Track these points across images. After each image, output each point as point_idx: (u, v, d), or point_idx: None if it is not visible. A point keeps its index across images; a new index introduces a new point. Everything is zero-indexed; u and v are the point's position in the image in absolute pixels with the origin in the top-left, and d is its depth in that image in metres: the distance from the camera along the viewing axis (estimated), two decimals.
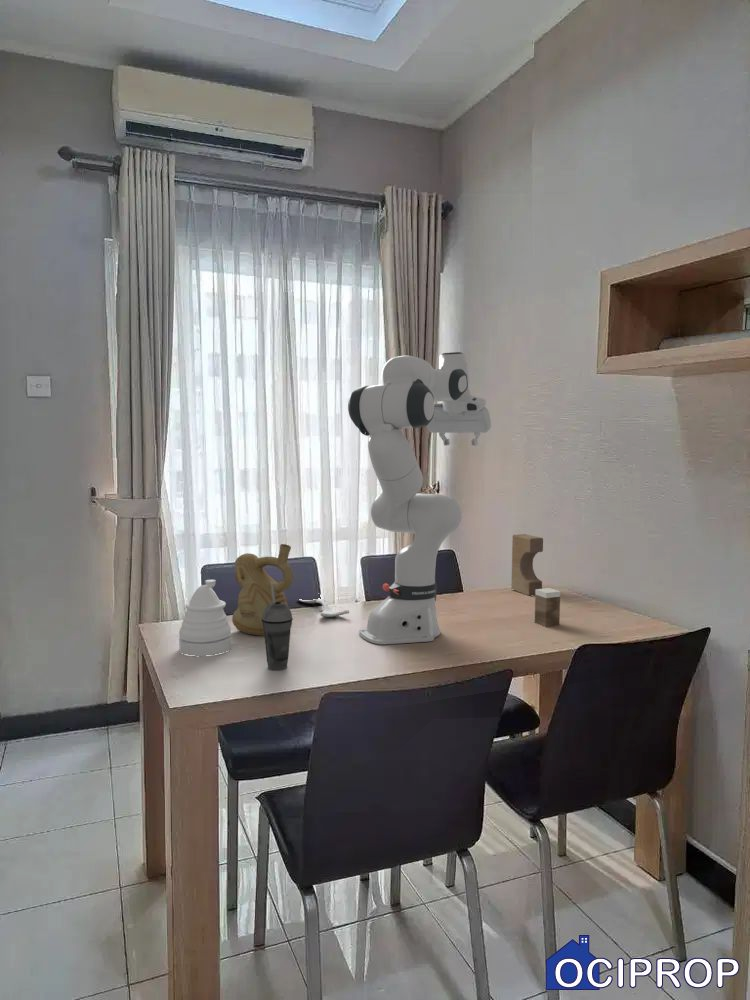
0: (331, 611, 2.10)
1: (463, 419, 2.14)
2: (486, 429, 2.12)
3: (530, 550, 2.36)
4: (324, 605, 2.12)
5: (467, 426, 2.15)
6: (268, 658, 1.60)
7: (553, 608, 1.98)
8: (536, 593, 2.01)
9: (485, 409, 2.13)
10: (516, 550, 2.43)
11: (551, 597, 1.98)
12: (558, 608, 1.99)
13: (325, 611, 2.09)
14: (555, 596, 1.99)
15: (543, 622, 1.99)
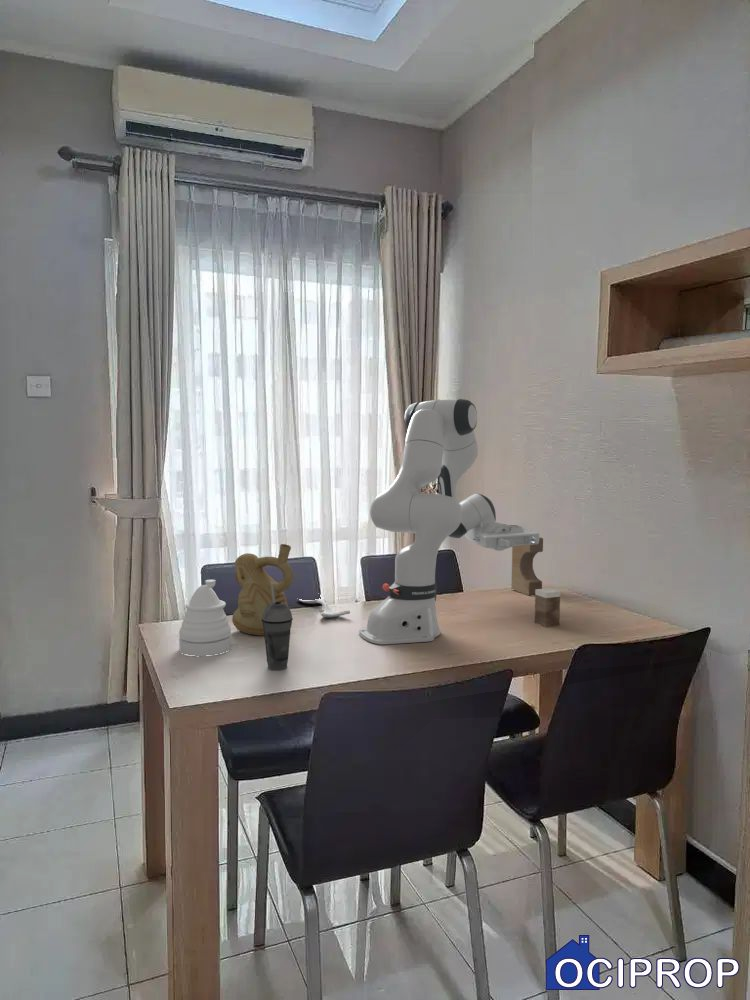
0: (332, 611, 2.09)
1: (512, 533, 2.19)
2: (537, 532, 2.19)
3: (530, 550, 2.36)
4: (325, 605, 2.12)
5: (519, 533, 2.17)
6: (268, 658, 1.60)
7: (553, 608, 1.98)
8: (536, 593, 2.01)
9: None
10: (516, 550, 2.43)
11: (551, 597, 1.98)
12: (558, 608, 1.99)
13: (326, 611, 2.09)
14: (555, 596, 1.99)
15: (543, 622, 1.99)
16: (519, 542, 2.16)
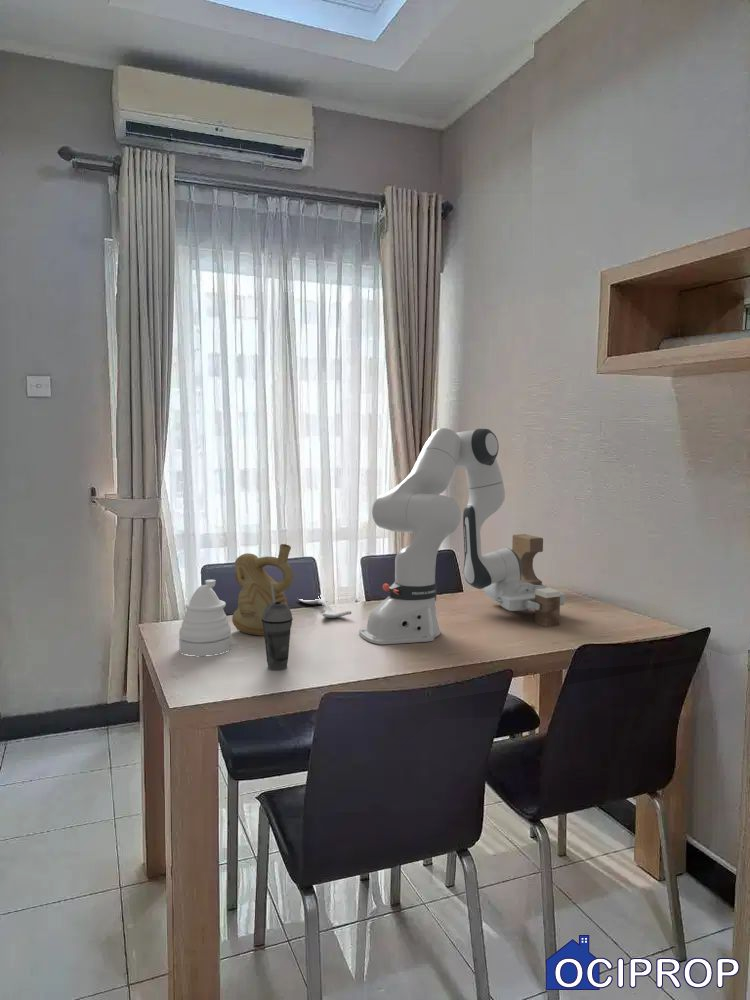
0: (333, 612, 2.09)
1: None
2: (562, 592, 2.09)
3: (530, 550, 2.36)
4: (326, 606, 2.11)
5: None
6: (268, 658, 1.60)
7: (553, 608, 1.98)
8: (536, 593, 2.01)
9: None
10: (516, 550, 2.43)
11: (551, 597, 1.98)
12: (558, 608, 1.99)
13: (327, 612, 2.08)
14: (555, 596, 1.99)
15: (543, 622, 1.99)
16: None
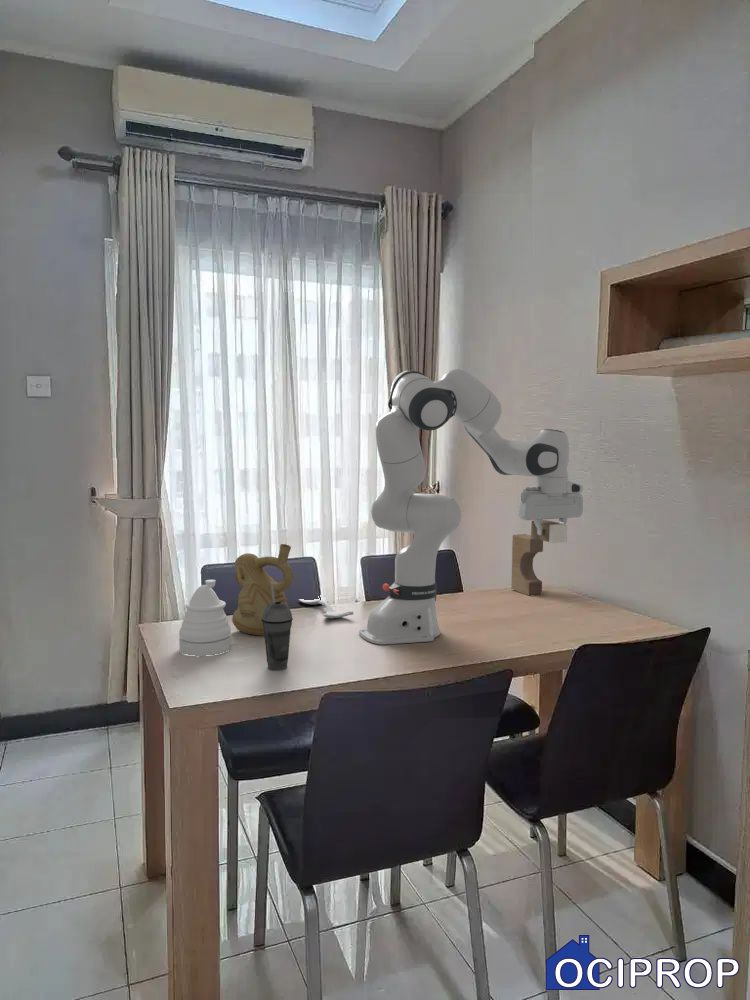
0: (335, 612, 2.08)
1: (561, 503, 1.97)
2: (581, 513, 2.00)
3: (530, 550, 2.36)
4: (327, 606, 2.11)
5: (564, 511, 1.97)
6: (268, 658, 1.60)
7: None
8: (550, 526, 1.94)
9: None
10: (516, 550, 2.43)
11: None
12: None
13: (329, 612, 2.08)
14: None
15: (533, 534, 2.01)
16: None
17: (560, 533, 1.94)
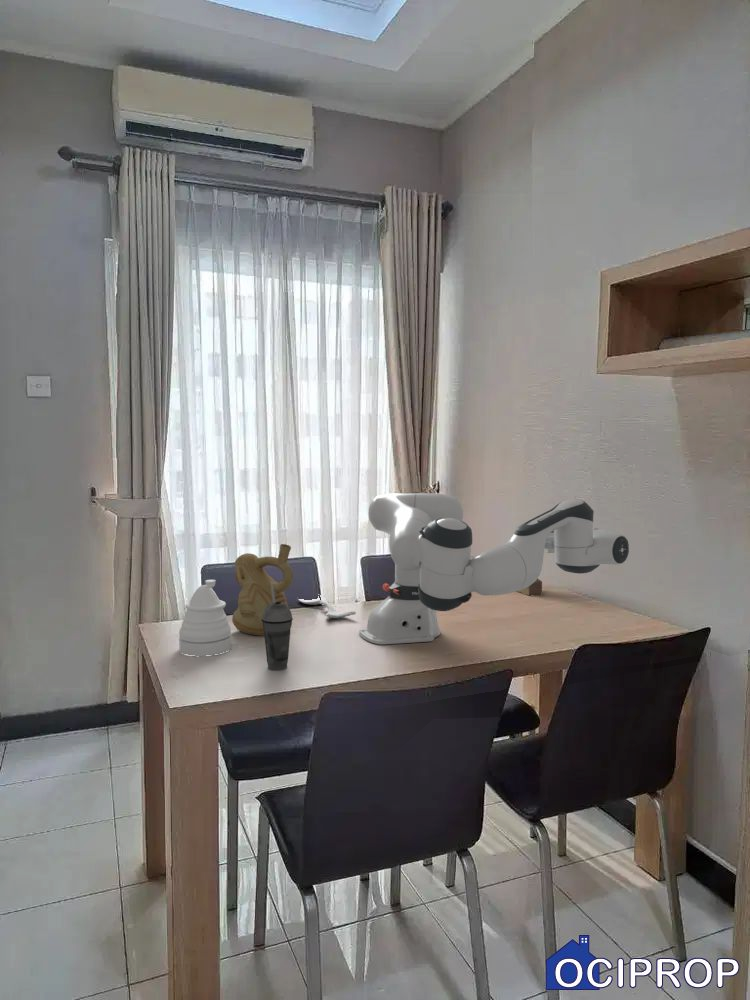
0: (336, 612, 2.08)
1: None
2: None
3: None
4: (328, 606, 2.11)
5: None
6: (268, 658, 1.60)
7: None
8: (546, 549, 1.96)
9: None
10: None
11: None
12: None
13: (330, 612, 2.08)
14: None
15: None
16: None
17: None
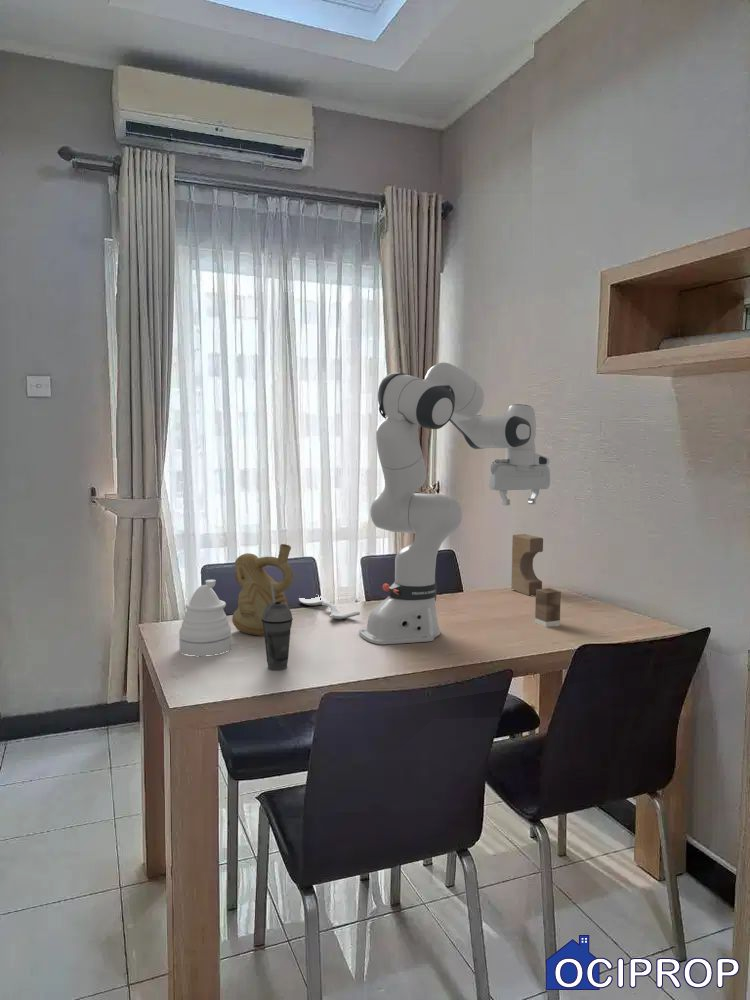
0: (340, 613, 2.07)
1: (529, 475, 2.07)
2: (549, 485, 2.10)
3: (530, 550, 2.36)
4: (332, 607, 2.10)
5: (532, 482, 2.07)
6: (268, 658, 1.60)
7: None
8: (544, 623, 1.98)
9: None
10: (516, 550, 2.43)
11: None
12: None
13: (334, 613, 2.07)
14: None
15: (538, 594, 2.00)
16: None
17: None
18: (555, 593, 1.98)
